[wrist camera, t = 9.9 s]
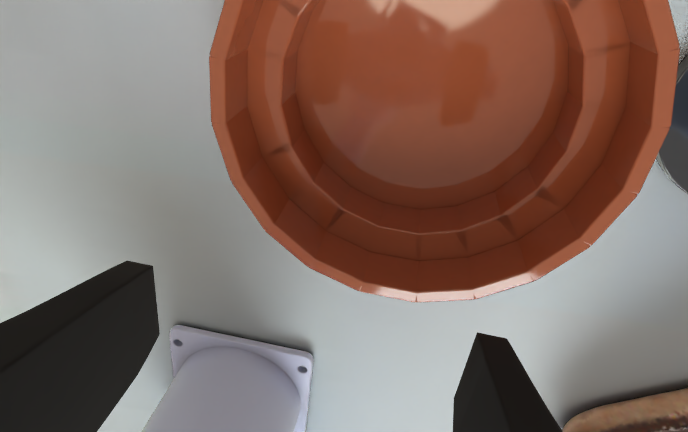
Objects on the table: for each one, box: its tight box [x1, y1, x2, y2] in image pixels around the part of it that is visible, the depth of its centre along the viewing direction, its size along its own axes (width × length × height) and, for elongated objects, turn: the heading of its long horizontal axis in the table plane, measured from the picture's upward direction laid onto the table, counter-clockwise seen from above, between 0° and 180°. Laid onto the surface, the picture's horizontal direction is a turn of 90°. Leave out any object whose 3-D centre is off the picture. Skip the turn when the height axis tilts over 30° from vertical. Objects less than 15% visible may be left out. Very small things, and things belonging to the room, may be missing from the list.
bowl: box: [209, 0, 680, 302], centre depth 16 cm, size 13×13×4 cm
